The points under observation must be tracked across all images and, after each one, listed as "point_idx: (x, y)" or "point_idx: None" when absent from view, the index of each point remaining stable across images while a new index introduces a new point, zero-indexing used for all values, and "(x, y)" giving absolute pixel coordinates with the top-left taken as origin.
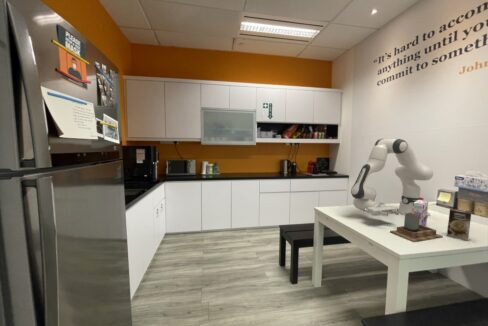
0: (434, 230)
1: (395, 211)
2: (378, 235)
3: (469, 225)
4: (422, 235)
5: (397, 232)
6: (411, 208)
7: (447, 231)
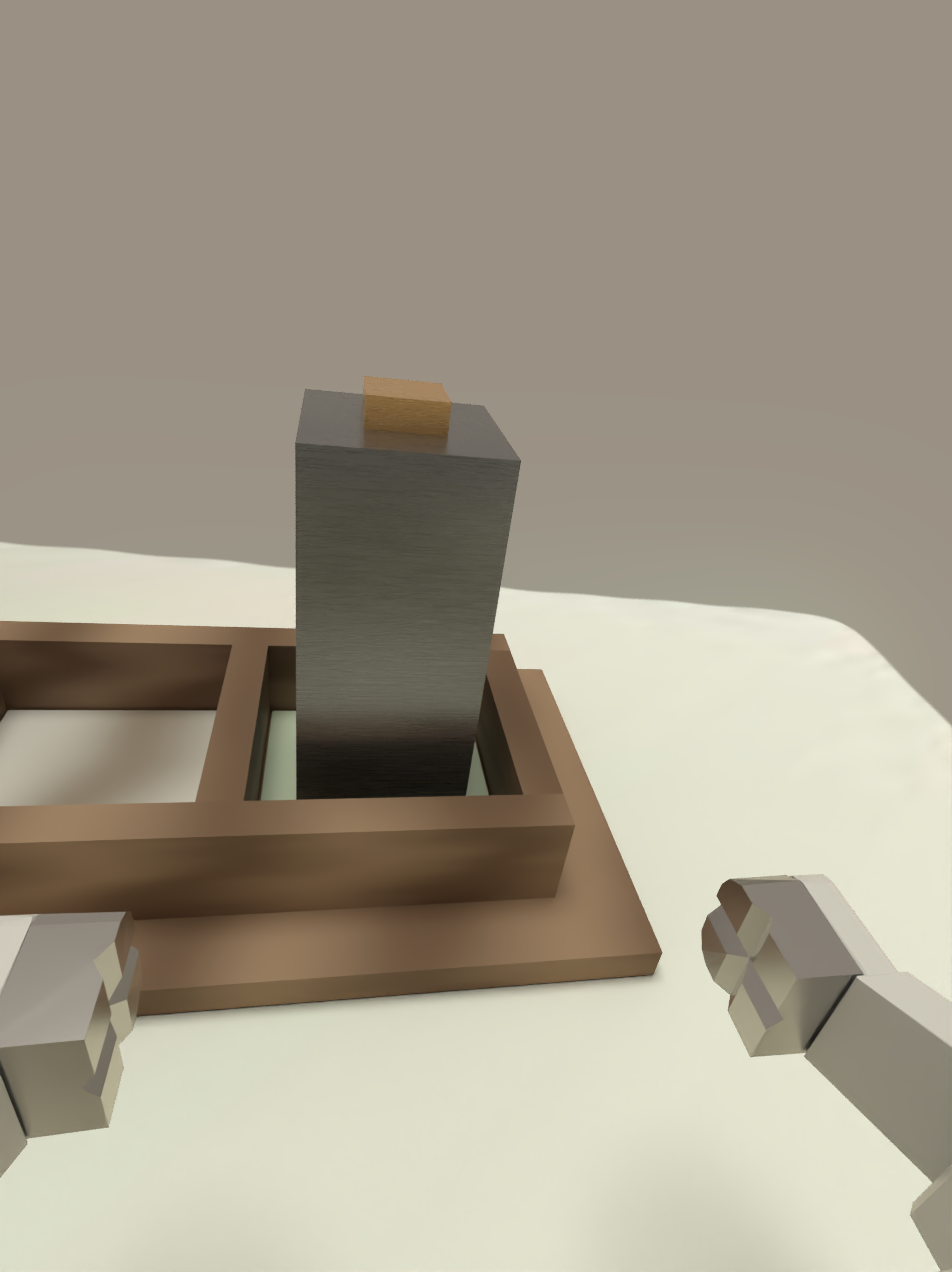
0: (19, 624)
1: (31, 1038)
2: (946, 911)
3: None
4: None
5: (564, 868)
6: None
7: None
